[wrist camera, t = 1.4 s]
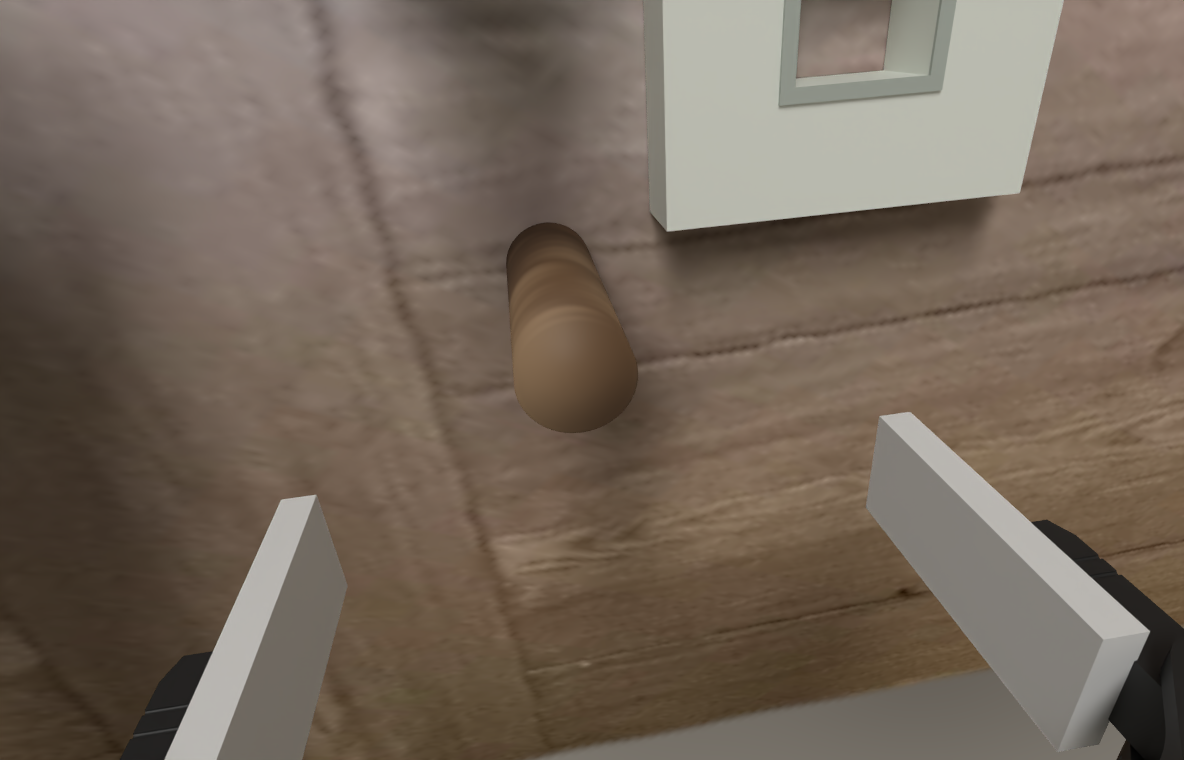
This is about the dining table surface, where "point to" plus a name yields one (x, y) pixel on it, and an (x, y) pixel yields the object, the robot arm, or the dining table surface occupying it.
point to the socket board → (837, 109)
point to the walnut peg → (565, 334)
